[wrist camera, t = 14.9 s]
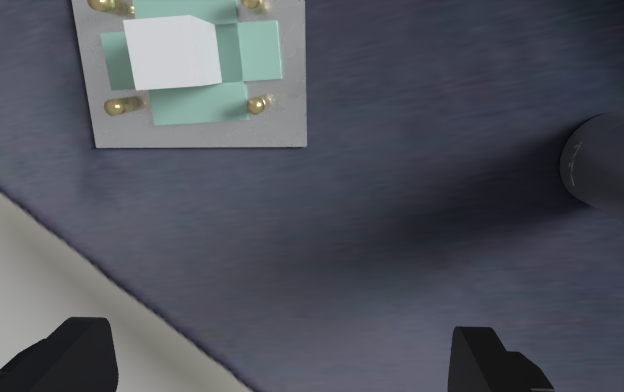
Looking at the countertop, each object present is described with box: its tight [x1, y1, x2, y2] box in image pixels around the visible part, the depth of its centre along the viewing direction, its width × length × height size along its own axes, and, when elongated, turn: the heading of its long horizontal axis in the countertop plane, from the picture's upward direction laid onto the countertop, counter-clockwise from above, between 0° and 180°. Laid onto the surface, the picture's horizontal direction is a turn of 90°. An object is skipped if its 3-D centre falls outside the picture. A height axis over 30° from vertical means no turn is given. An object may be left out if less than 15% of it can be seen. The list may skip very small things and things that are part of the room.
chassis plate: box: [72, 0, 307, 148], centre depth 37 cm, size 21×17×5 cm
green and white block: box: [100, 0, 282, 126], centre depth 35 cm, size 16×12×8 cm
